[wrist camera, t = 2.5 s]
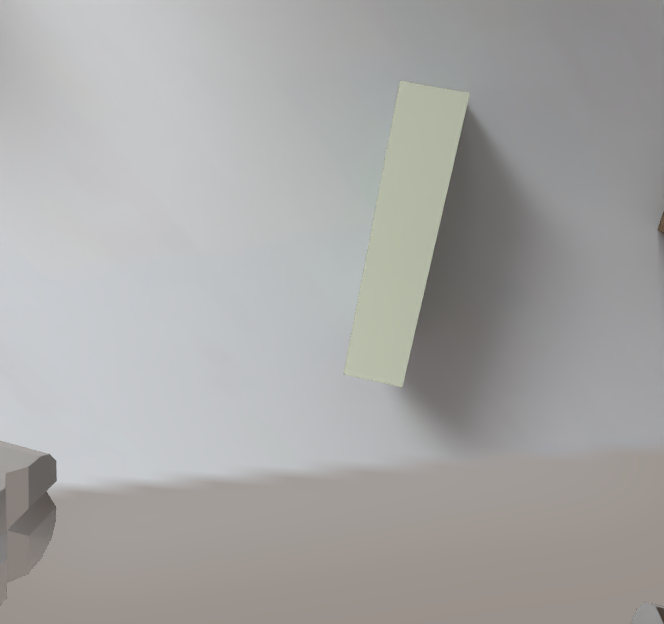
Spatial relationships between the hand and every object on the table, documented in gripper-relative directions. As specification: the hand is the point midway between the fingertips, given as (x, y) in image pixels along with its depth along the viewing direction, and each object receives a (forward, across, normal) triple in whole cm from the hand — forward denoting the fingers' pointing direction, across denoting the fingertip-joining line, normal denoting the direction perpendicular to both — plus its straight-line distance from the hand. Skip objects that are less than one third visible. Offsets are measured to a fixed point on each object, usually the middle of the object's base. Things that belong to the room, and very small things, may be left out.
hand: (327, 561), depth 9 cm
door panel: (+29, 0, 0) cm, 29 cm away
